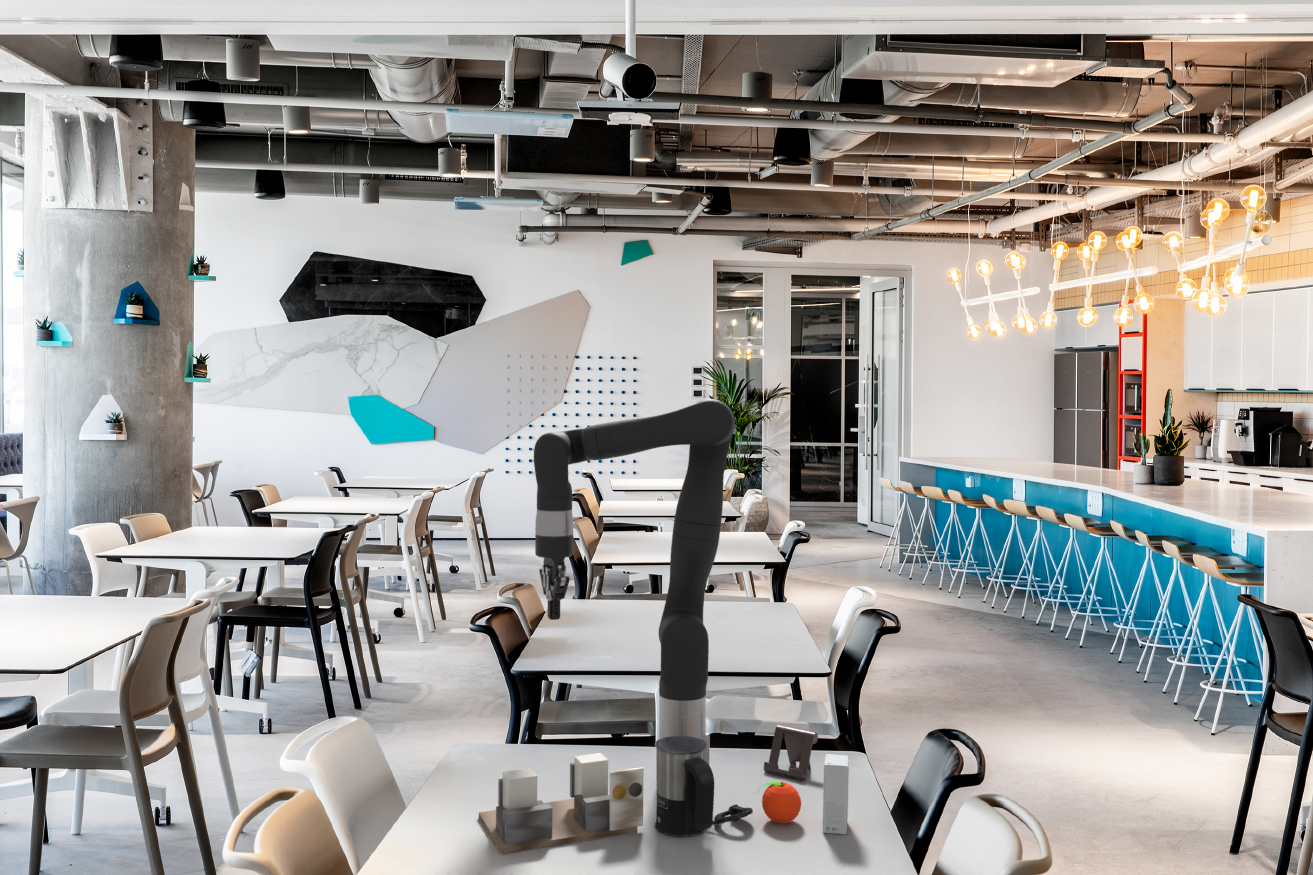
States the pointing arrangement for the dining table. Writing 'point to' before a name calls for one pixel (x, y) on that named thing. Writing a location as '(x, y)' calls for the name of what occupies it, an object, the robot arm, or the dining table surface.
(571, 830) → the button board
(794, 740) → the portable electronic device stand
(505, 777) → the button
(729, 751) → the dining table surface
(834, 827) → the skincare box
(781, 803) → the clementine
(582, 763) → the button
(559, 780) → the dining table surface
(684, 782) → the milk frother
